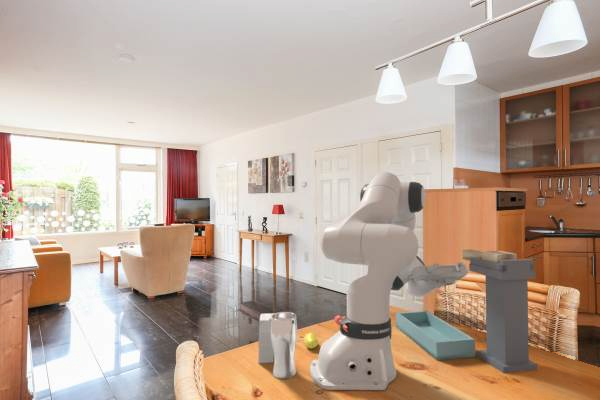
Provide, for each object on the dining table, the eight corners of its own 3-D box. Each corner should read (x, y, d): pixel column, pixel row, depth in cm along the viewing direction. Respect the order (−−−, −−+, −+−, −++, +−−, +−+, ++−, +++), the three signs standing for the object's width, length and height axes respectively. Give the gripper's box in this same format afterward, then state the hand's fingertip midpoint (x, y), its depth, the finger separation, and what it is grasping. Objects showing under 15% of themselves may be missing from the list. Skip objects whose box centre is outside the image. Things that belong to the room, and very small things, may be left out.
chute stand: (503, 372, 87) (501, 261, 88) (470, 351, 100) (468, 253, 100) (537, 369, 89) (535, 259, 89) (500, 348, 102) (498, 252, 102)
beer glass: (282, 364, 93) (281, 309, 93) (302, 371, 89) (302, 314, 89) (265, 374, 88) (265, 316, 88) (286, 382, 84) (286, 322, 84)
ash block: (497, 269, 92) (497, 254, 92) (458, 259, 109) (458, 246, 109) (516, 268, 93) (516, 253, 93) (475, 258, 110) (475, 246, 110)
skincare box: (259, 354, 100) (259, 313, 100) (275, 353, 100) (274, 312, 100) (258, 364, 93) (257, 320, 94) (274, 363, 94) (273, 319, 94)
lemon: (316, 341, 109) (316, 329, 109) (318, 352, 101) (318, 339, 101) (303, 341, 109) (303, 329, 109) (304, 352, 101) (304, 339, 101)
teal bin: (436, 360, 95) (436, 342, 95) (395, 326, 120) (395, 312, 120) (475, 356, 97) (474, 339, 97) (427, 324, 122) (426, 310, 122)
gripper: (404, 270, 130) (420, 257, 118) (452, 268, 133) (472, 255, 121) (408, 286, 127) (425, 275, 115) (457, 283, 130) (478, 272, 118)
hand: (449, 265), depth 118 cm, fingers open, 8 cm apart
